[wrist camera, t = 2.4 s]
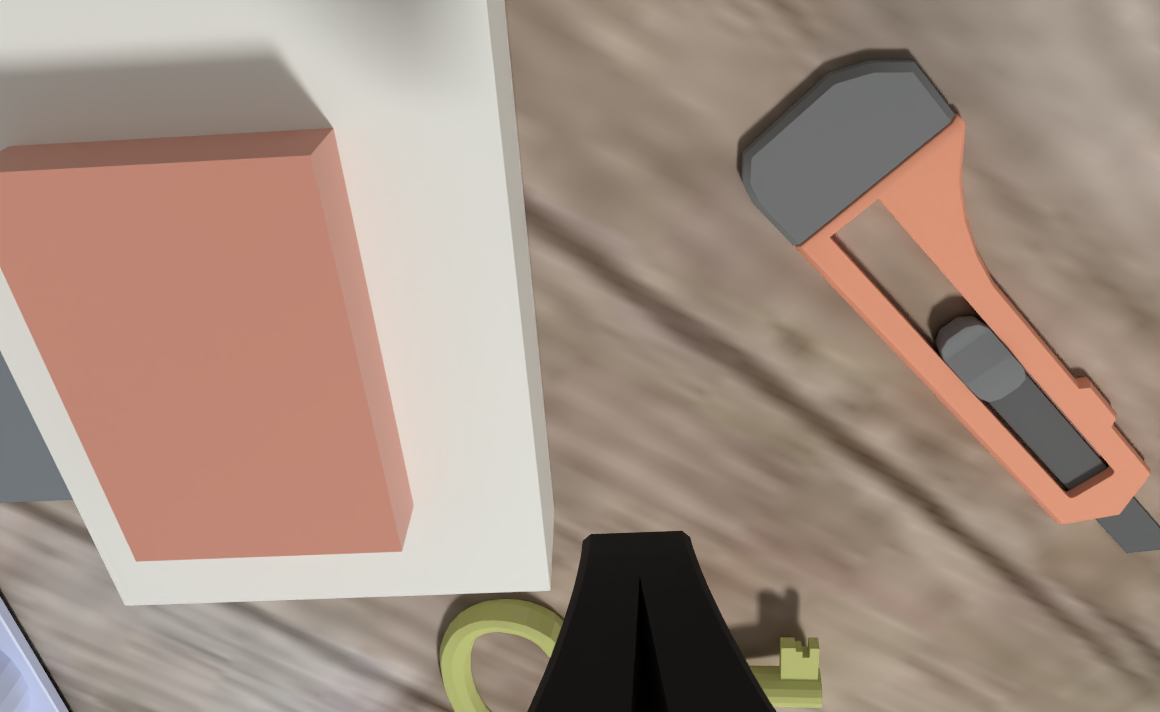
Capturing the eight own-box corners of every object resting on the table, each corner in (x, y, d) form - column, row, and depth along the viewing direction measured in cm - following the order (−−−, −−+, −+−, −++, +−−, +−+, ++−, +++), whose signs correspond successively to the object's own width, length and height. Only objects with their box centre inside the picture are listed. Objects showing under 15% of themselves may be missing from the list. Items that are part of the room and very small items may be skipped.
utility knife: (894, 27, 17) (1271, 516, 23) (879, 18, 17) (1248, 493, 24) (725, 177, 18) (1122, 594, 25) (718, 162, 19) (1105, 570, 26)
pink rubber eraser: (164, 515, 20) (136, 561, 19) (8, 146, 15) (-44, 174, 14) (413, 505, 20) (402, 551, 19) (333, 127, 15) (310, 154, 14)
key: (830, 652, 28) (847, 709, 26) (497, 742, 31) (491, 800, 29) (761, 499, 24) (775, 552, 23) (394, 617, 27) (379, 673, 25)
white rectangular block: (173, 524, 24) (125, 605, 22) (-65, -48, 17) (-184, -26, 14) (554, 509, 24) (550, 590, 21) (495, -84, 16) (478, -68, 14)
